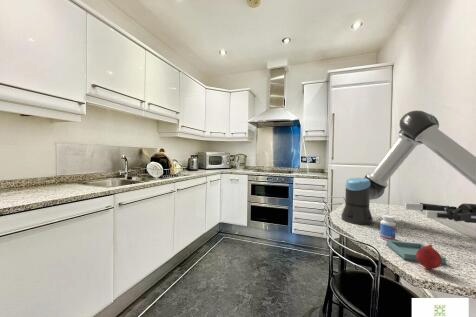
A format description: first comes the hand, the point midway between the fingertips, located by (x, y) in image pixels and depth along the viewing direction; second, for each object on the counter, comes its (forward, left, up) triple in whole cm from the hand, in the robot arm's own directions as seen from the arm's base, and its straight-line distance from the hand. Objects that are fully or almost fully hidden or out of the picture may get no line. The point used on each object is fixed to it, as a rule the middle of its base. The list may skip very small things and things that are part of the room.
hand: (415, 209), depth 87 cm
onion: (+25, -10, -14) cm, 30 cm away
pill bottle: (0, -10, -14) cm, 17 cm away
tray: (+14, -8, -13) cm, 21 cm away
